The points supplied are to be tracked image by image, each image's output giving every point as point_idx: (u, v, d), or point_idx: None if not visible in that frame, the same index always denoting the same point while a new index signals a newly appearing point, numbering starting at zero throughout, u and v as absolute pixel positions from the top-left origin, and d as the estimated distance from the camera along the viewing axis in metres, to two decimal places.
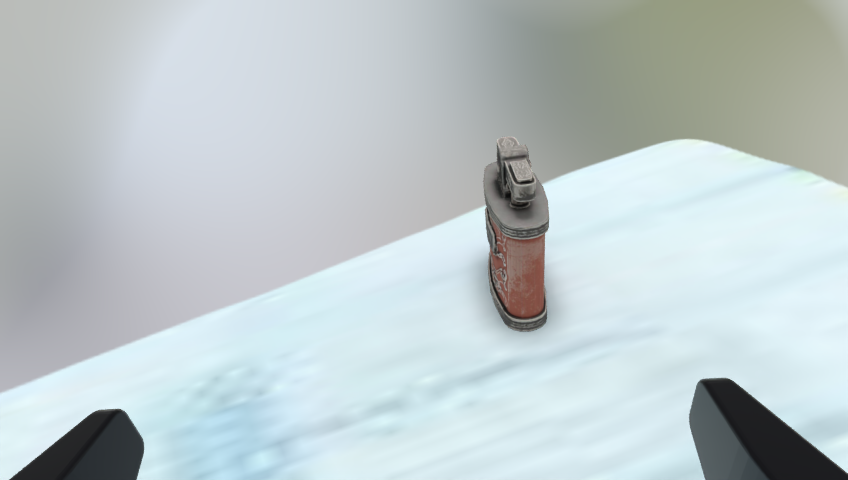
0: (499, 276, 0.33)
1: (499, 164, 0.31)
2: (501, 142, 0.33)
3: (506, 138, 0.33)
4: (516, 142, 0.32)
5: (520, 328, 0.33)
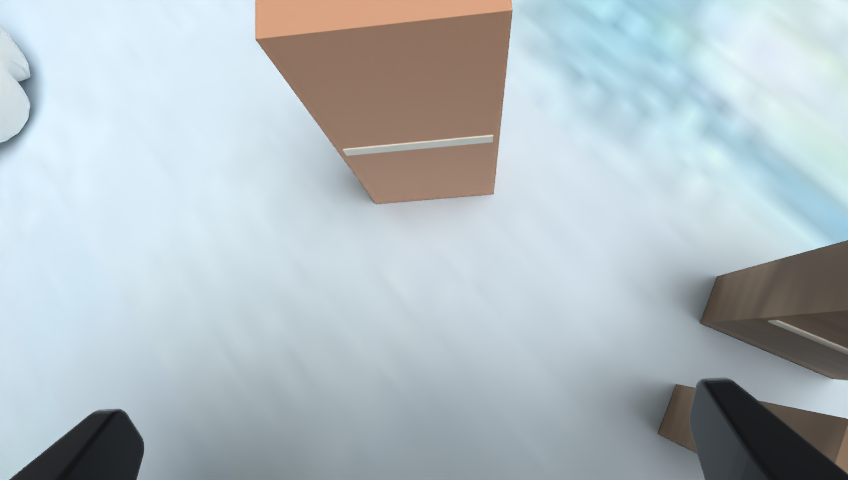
0: None
1: None
2: None
3: None
4: None
5: None
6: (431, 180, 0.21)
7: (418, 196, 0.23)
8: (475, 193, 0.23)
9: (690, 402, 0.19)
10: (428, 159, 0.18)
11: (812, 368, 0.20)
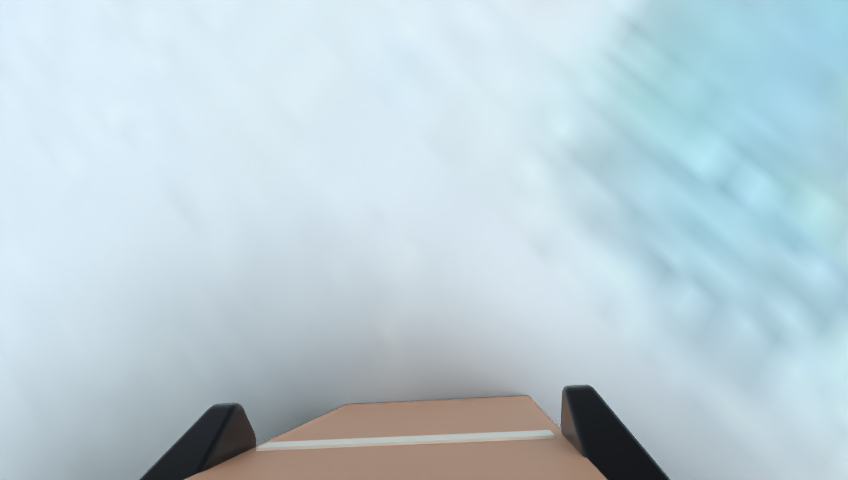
0: None
1: None
2: None
3: None
4: None
5: None
6: None
7: None
8: None
9: None
10: None
11: None
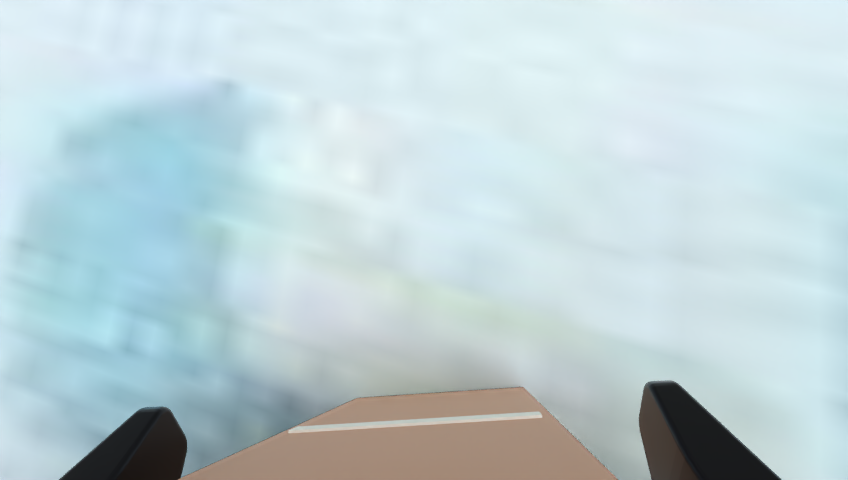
0: None
1: None
2: None
3: None
4: None
5: None
6: None
7: None
8: None
9: None
10: None
11: None
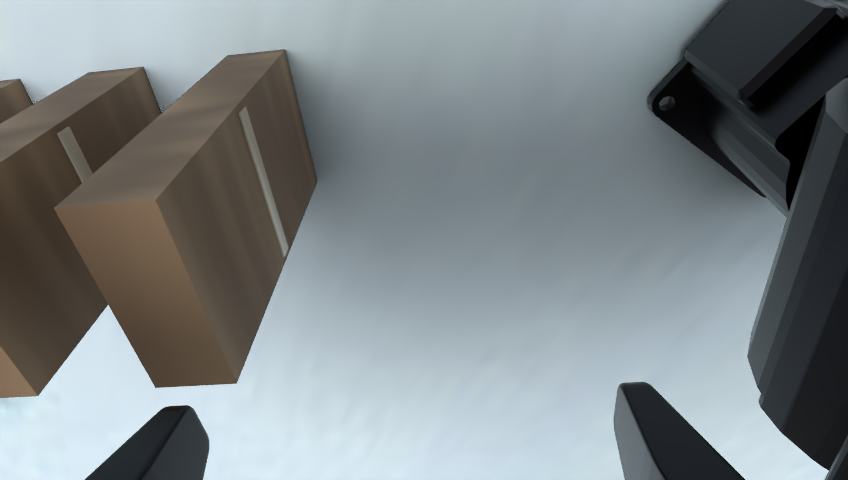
0: None
1: None
2: None
3: None
4: None
5: None
6: None
7: None
8: None
9: None
10: None
11: (26, 107, 0.19)
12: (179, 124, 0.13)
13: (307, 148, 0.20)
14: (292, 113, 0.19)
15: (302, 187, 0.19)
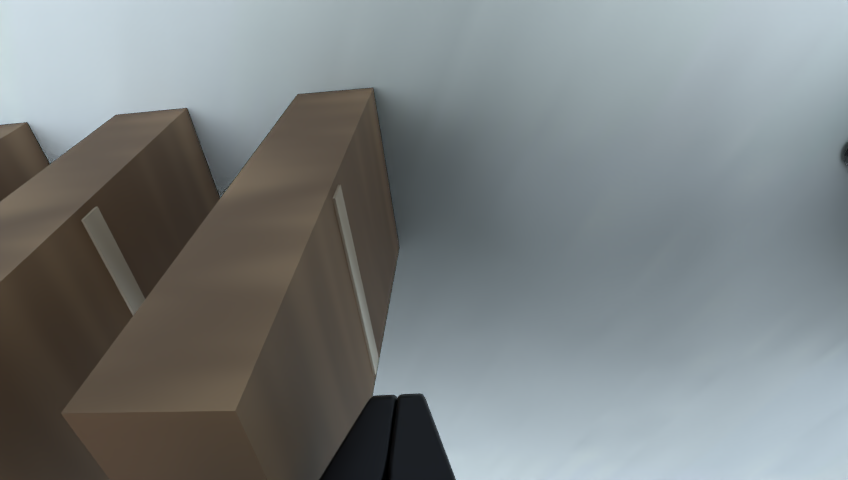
0: None
1: None
2: None
3: None
4: None
5: None
6: None
7: None
8: None
9: None
10: None
11: (36, 158, 0.15)
12: (251, 220, 0.09)
13: (391, 210, 0.16)
14: (379, 170, 0.14)
15: (388, 264, 0.15)
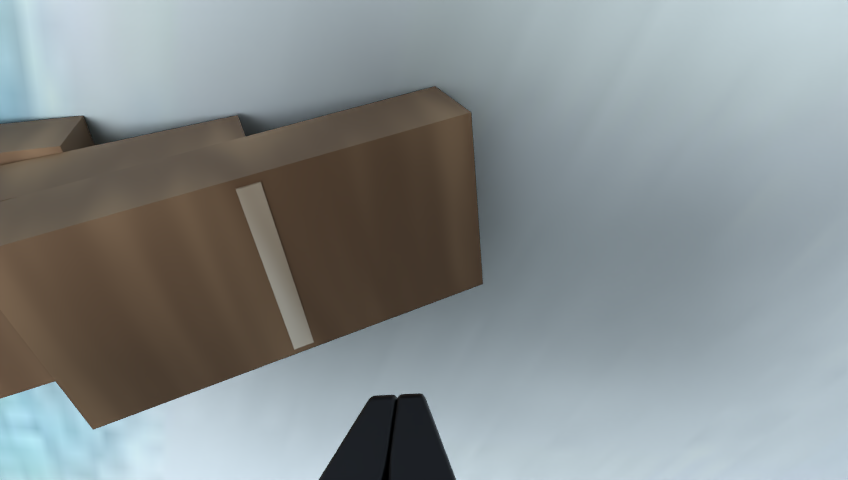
0: None
1: None
2: None
3: None
4: None
5: None
6: None
7: None
8: None
9: None
10: None
11: None
12: (181, 169, 0.11)
13: (472, 243, 0.14)
14: (440, 196, 0.13)
15: (416, 285, 0.14)
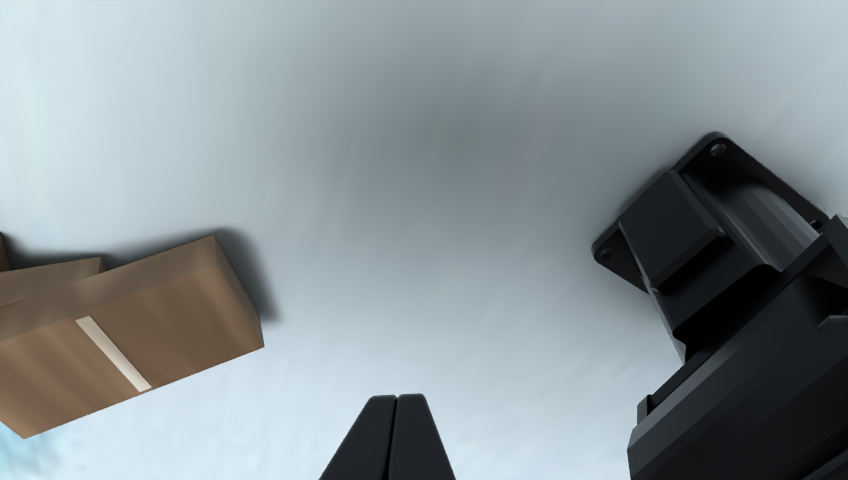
0: None
1: None
2: None
3: None
4: None
5: None
6: None
7: None
8: None
9: None
10: None
11: None
12: (50, 304, 0.20)
13: (246, 327, 0.23)
14: (212, 307, 0.21)
15: (214, 352, 0.23)
